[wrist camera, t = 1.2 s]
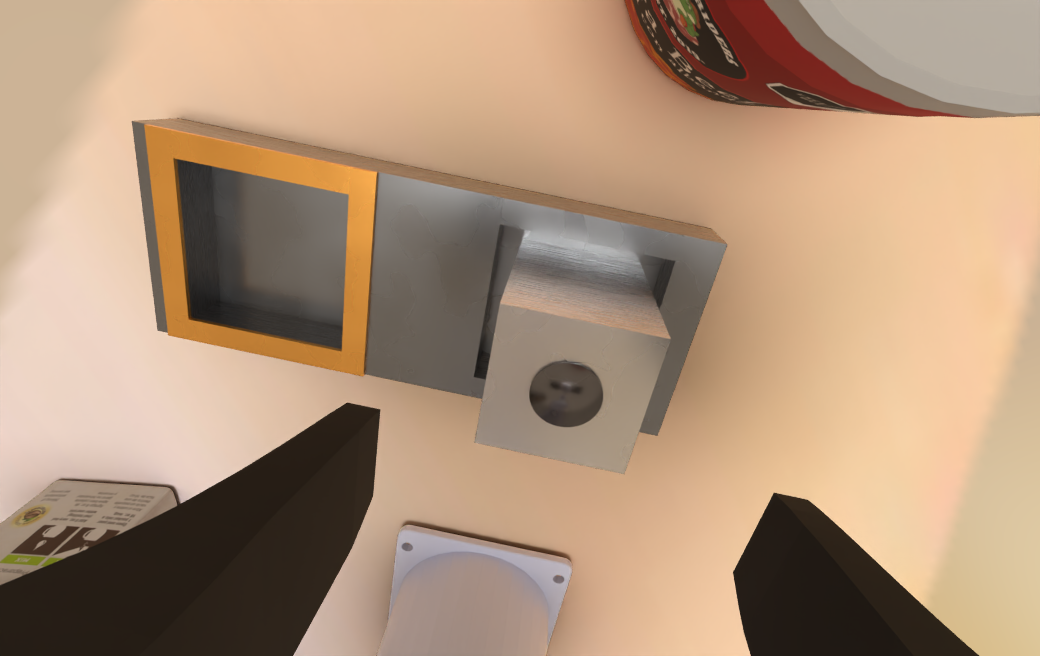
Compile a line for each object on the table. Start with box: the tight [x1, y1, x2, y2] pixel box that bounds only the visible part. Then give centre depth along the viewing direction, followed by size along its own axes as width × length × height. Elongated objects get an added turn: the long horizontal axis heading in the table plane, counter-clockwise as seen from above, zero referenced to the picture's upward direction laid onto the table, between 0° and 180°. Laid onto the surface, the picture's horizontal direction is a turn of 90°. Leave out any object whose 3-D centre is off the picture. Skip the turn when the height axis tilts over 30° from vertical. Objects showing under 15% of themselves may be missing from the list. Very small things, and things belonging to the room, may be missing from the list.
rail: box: [132, 118, 727, 436], centre depth 18 cm, size 7×18×2 cm, turn 79°
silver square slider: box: [474, 239, 671, 474], centre depth 15 cm, size 4×4×6 cm
